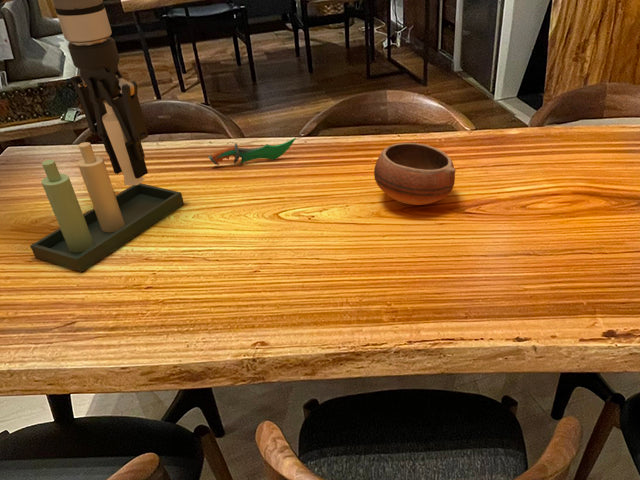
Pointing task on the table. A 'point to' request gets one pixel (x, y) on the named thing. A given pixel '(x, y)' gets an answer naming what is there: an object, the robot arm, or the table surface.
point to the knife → (251, 152)
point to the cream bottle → (100, 189)
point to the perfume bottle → (119, 145)
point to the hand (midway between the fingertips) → (131, 172)
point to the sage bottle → (66, 208)
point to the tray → (138, 214)
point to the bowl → (414, 173)
